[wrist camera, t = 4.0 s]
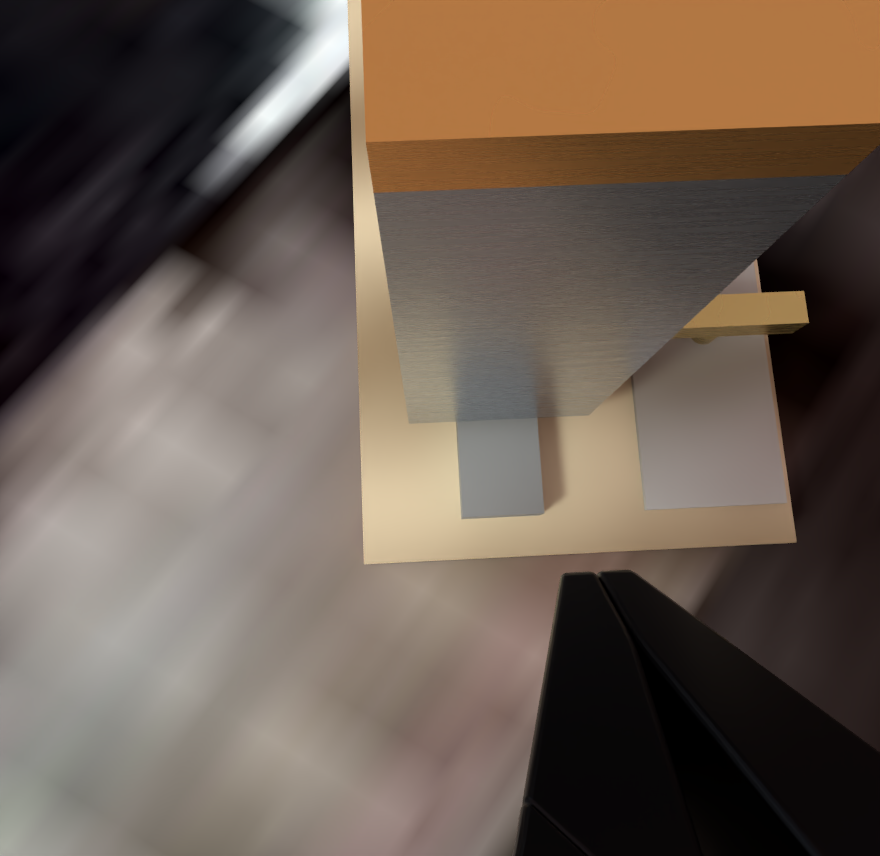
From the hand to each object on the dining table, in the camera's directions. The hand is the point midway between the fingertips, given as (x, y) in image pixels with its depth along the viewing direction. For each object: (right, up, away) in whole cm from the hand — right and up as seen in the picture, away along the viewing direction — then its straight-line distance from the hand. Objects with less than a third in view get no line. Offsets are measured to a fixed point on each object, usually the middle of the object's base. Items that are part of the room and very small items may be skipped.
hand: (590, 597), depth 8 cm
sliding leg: (+2, +4, +10) cm, 11 cm away
